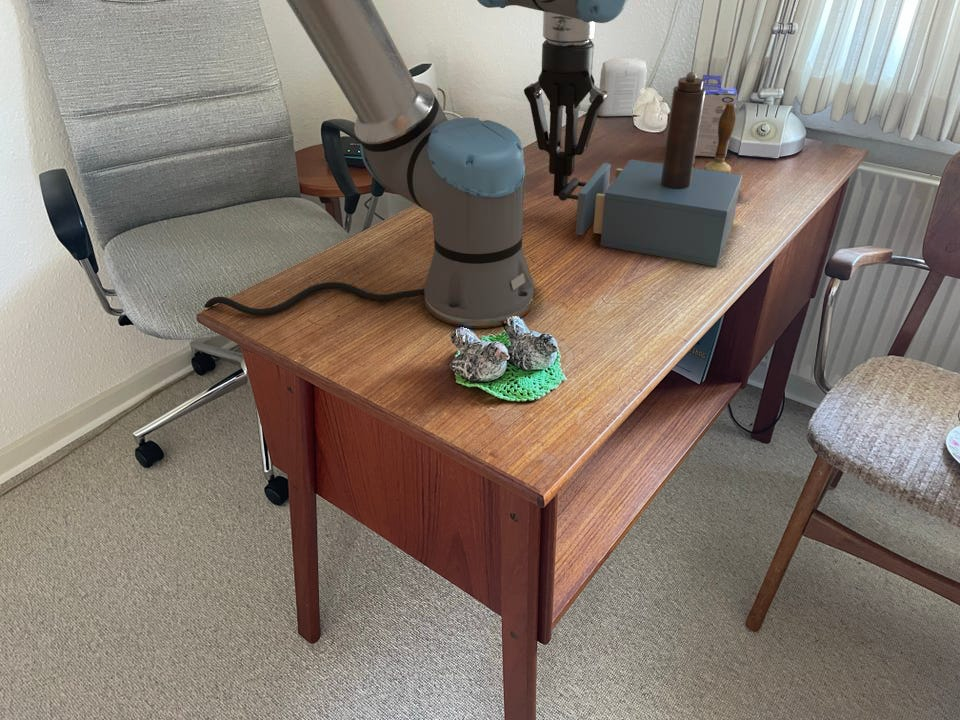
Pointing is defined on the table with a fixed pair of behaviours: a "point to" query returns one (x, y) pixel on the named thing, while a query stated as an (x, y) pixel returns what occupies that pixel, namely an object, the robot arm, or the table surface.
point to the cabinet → (670, 213)
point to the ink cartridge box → (712, 115)
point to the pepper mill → (683, 132)
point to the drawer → (590, 198)
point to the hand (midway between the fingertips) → (560, 193)
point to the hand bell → (723, 139)
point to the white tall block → (621, 85)
